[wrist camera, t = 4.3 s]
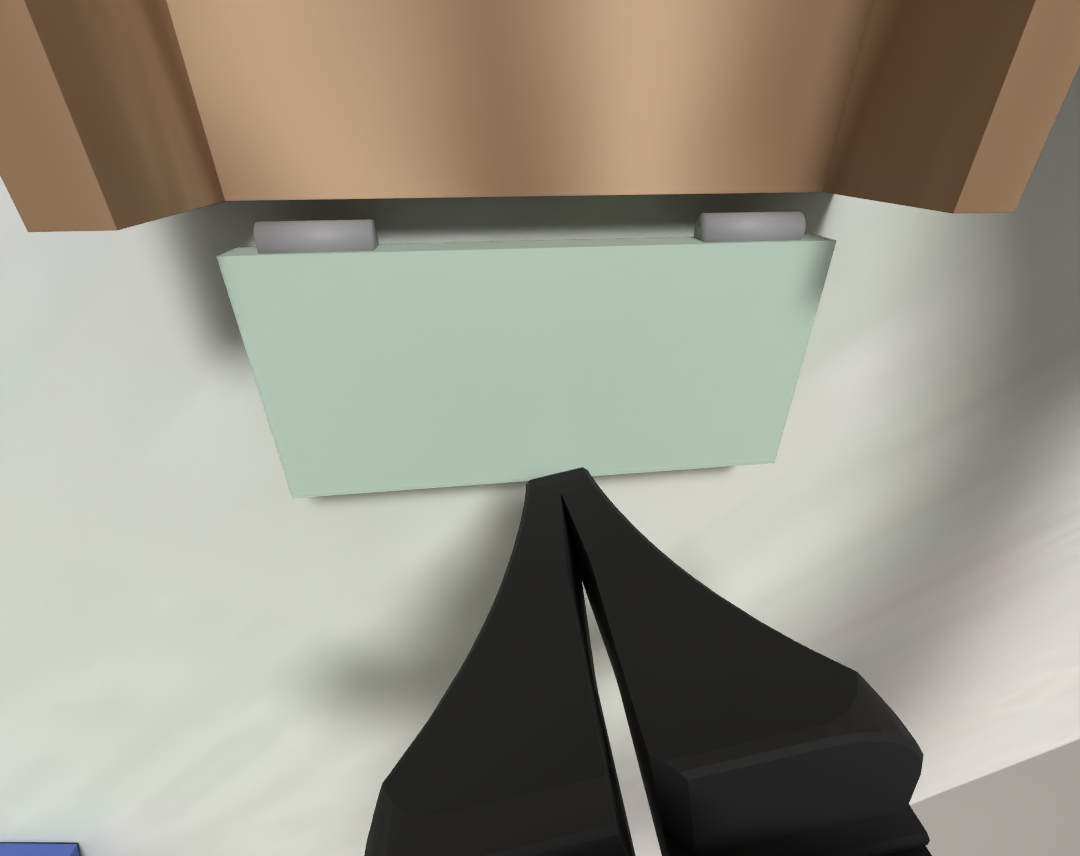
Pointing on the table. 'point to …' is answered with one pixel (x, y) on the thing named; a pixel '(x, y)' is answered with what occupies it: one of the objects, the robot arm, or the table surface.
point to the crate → (522, 100)
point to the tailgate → (523, 350)
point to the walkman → (38, 849)
